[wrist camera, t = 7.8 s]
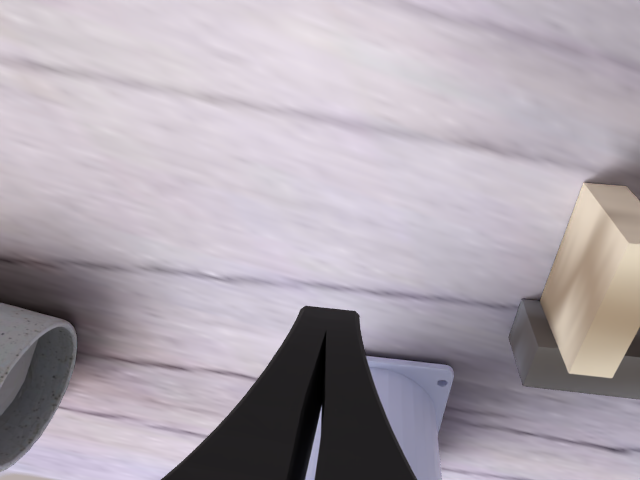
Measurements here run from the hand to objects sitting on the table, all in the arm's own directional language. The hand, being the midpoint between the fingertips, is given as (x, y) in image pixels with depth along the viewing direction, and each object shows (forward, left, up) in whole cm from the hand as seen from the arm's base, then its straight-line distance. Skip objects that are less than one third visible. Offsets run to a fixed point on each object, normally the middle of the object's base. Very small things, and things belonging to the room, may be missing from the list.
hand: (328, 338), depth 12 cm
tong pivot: (-4, -11, -9) cm, 15 cm away
